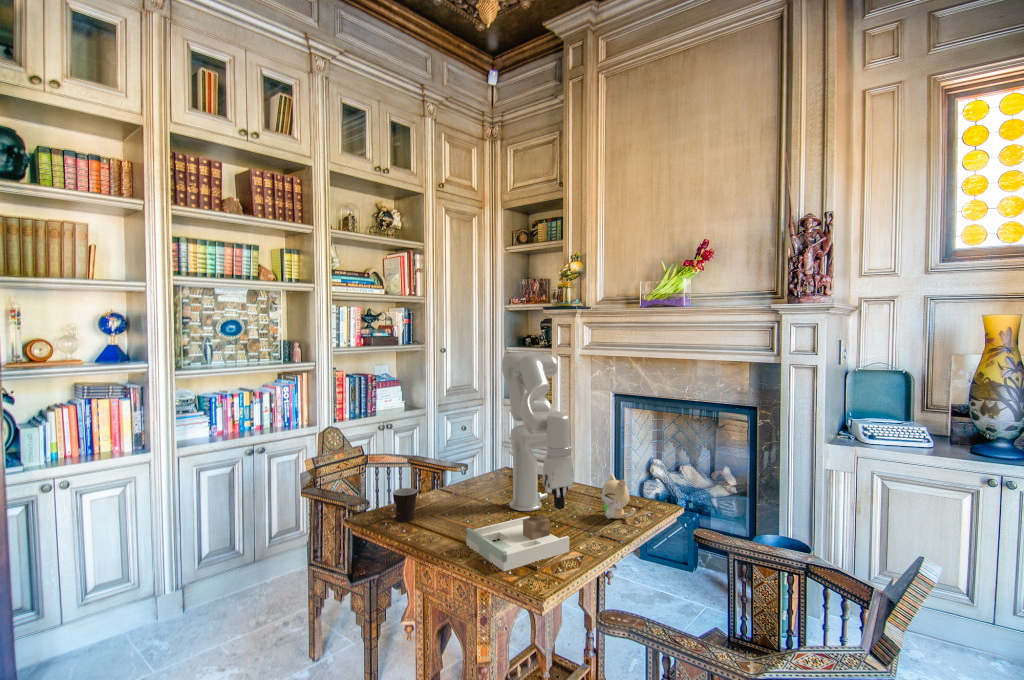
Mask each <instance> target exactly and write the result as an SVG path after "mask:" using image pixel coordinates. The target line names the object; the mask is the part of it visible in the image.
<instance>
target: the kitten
mask: <svg viewBox="0 0 1024 680" xmlns="http://www.w3.org/2000/svg"><path fill="white" fill-rule="evenodd" d="M600 497H601V500H602V502H603V512H604V511H605V514H604V516H605V518H607V519H608V520H610V519H613V520H615V519H618V520H619V519H622V518H628V517H631V516H633V515H634V514H636V508H634V507H631V508H630V510H629V511H628V512H625V511H624V509H623V508H624V507H626V506H627V504H629V502H630V492H629V488H628V487H627V485H626V480H625V479H622V480H619V479H616V477H615V475H614V473H613V472H611V473H610V475H609V480H608V481H606V482H605V483H604V484H603V486H602V487H601V490H600Z"/></svg>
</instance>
